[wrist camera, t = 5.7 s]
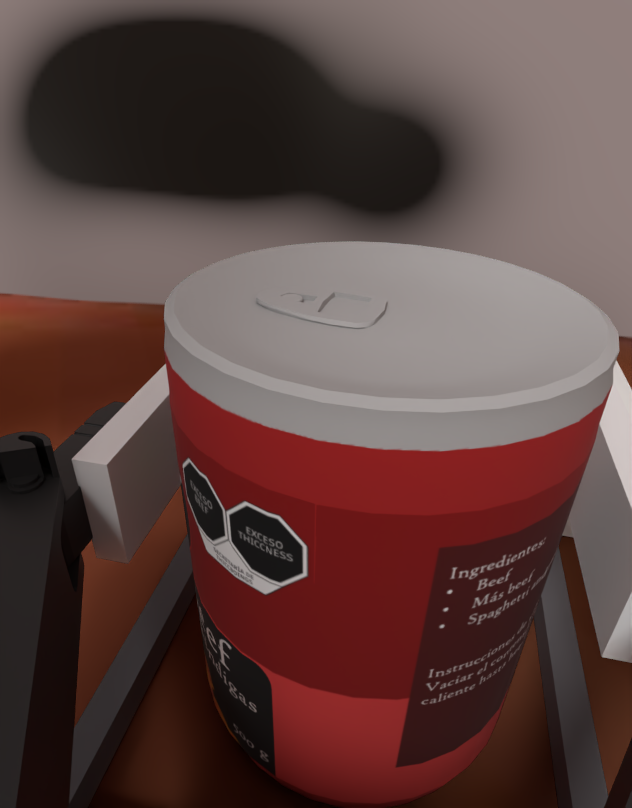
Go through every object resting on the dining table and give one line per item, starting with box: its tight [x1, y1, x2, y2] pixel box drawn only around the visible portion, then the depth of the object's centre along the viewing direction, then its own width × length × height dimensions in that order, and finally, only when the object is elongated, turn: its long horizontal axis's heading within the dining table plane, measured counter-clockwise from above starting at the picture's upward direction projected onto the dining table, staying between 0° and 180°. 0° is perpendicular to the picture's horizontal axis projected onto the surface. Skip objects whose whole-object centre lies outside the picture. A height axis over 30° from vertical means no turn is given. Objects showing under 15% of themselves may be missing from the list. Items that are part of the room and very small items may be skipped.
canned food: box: [164, 241, 619, 808], centre depth 13 cm, size 8×8×11 cm
